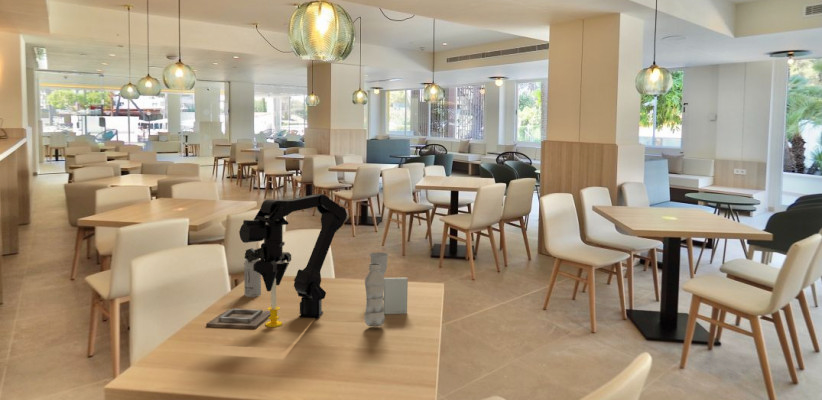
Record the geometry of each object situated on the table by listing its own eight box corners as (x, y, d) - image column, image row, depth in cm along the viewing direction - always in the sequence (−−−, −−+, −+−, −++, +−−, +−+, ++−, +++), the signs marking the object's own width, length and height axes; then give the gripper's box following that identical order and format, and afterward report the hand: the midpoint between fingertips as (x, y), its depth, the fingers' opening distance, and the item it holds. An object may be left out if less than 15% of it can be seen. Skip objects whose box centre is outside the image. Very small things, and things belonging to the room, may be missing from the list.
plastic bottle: (388, 324, 176) (388, 263, 174) (378, 330, 169) (378, 267, 168) (370, 321, 178) (371, 261, 177) (360, 327, 172) (360, 265, 171)
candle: (281, 326, 171) (281, 278, 170) (264, 327, 170) (264, 278, 169) (282, 321, 176) (282, 274, 175) (266, 322, 176) (265, 275, 174)
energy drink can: (241, 297, 205) (240, 258, 204) (254, 294, 210) (253, 256, 209) (251, 300, 202) (251, 260, 201) (264, 297, 207) (264, 258, 205)
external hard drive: (407, 313, 188) (407, 278, 187) (383, 314, 187) (384, 278, 186) (406, 312, 189) (407, 277, 188) (383, 313, 188) (383, 277, 187)
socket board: (273, 314, 185) (273, 307, 185) (255, 328, 169) (255, 322, 169) (227, 312, 186) (227, 306, 186) (206, 326, 170) (206, 319, 170)
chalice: (391, 301, 204) (392, 253, 202) (381, 305, 198) (381, 256, 196) (375, 298, 207) (376, 251, 206) (365, 302, 202) (365, 254, 200)
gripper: (259, 234, 181) (259, 280, 182) (236, 243, 163) (236, 294, 164) (291, 235, 180) (291, 282, 181) (272, 244, 162) (272, 295, 163)
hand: (273, 288), depth 172 cm, fingers open, 8 cm apart
